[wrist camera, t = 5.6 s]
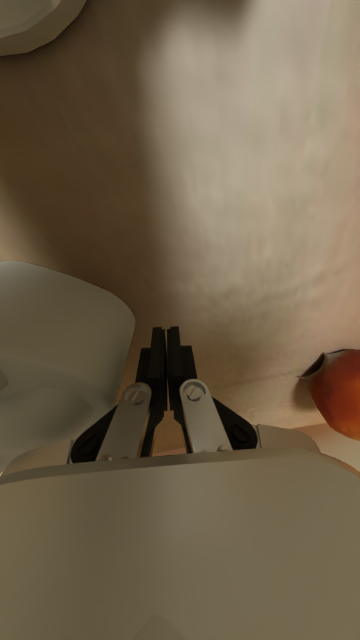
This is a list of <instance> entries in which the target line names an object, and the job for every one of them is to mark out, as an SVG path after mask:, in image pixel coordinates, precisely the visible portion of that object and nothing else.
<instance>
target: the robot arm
mask: <svg viewBox="0 0 360 640" xmlns="http://www.w3.org/2000/svg"><path fill="white" fill-rule="evenodd" d="M86 1H87V0H0V56H4V55H13V54H22V53H28V52H30V51H32V50H34V49H36V48H38V47H40V46H42V45H44V44H46V43H48V42H50V41H52V40H54V39H55V38H56V37H57V36H58V35H59V34H60V33H61V32H62V31H63V30H64V29H65V28H66V27H67V26H68V25H69V24H70V23H71V22H72V21H73V20H74V19H75V18H76V17H77V16H78V14H79V13H80V11H81V9H82V8H83V6H84V4H85V2H86ZM167 377H168V390H169V402H170V410H174V419H175V420H176V421H177V422H178V423H179V424H181V430H182V435H183V440H184V444H185V449H186V454H179V455H167V456H155V457H152V453H153V448H154V442H155V437H156V431H157V425H158V424H159V423H160V422H161V421H162V420H163V417H164V411H167ZM0 640H360V472H359V471H357V470H356V469H355V468H353V467H352V466H350V465H348V464H346V463H344V462H342V461H340V460H338V459H336V458H334V457H331V456H328V455H326V454H323V453H321V452H320V450H319V448H318V446H317V444H316V442H315V441H314V440H313V439H312V438H311V437H310V436H308V435H307V434H305V433H303V432H300V431H297V430H291V429H285V428H279V427H273V426H268V425H262V424H257V426H256V425H251V424H250V423H249V422H247V421H246V420H245V419H243V418H242V417H240V416H239V415H238V414H236V413H235V412H233V411H232V410H230V409H229V408H228V407H226V406H225V405H223V404H222V403H220V402H219V401H218V400H216V399H215V398H213V397H212V396H211V395H210V392H209V390H208V387H207V386H206V384H205V383H203V382H202V381H200V380H197V374H196V369H195V363H194V357H193V352H192V346H180V336H179V326H175V327H170V329H167V351H166V338H165V329H162V328H161V327H155V328H153V332H152V340H151V348H142V349H141V353H140V358H139V364H138V370H137V375H136V381H135V383H134V384H131V385H130V386H128V387H127V388H126V389H125V390H124V392H123V394H122V396H121V398H120V401H119V403H118V405H116V406H115V407H114V408H113V409H112V410H110V411H109V412H108V413H107V414H105V415H104V416H103V417H102V418H101V419H99V420H98V421H97V422H96V423H94V424H93V425H92V426H91V427H89V428H88V429H87V430H86V431H85V432H83V433H82V434H81V435H80V436H79V437H78V438H76V439H72V438H69V439H66V440H63V441H59V442H56V443H53V444H50V445H46V446H43V447H40V448H37V449H34V450H30V451H27V452H25V453H22V454H20V455H19V456H17V457H16V458H15V459H13V460H12V461H11V462H10V463H9V464H8V466H7V467H6V468H5V470H4V471H3V473H2V475H1V477H0Z"/></svg>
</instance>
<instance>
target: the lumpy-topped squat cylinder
mask: <svg viewBox="0 0 360 640" xmlns="http://www.w3.org/2000/svg"><path fill="white" fill-rule="evenodd" d="M134 329H135V318H134V315H133V313H132V311H131V310H130V308H129V307H128V306H127V305H126V304H125V303H124V302H123V301H122V300H121V299H120V298H118V297H117V296H116V295H114V294H112V293H111V292H109V291H107V290H105V289H102V288H100V287H98V286H95V285H93V284H90V283H88V282H86V281H83V280H81V279H78V278H76V277H73V276H70V275H67V274H64V273H61V272H58V271H55V270H52V269H49V268H45V267H42V266H38V265H34V264H30V263H25V262H19V261H2V262H0V473H1V472H3V471H4V470H5V468H6V467H7V466H8V464H9V463H10V462H11V461H12V460H13V459H15V458H16V457H17V456H19V455H20V454H22V453H25V452H27V451H30V450H34V449H37V448H40V447H43V446H46V445H50V444H53V443H56V442H59V441H63V440H66V439H69V438H72V439H76V438H78V437H79V436H80V435H81V434H82V433H83V432H85V431H86V430H87V429H88V428H89V427H91V426H92V425H93V424H94V423H96V422H97V421H98V420H99V419H101V418H102V417H103V416H104V415H105V414H107V413H108V412H109V411H110V410H112V409H113V408H114V406H115V402H116V397H117V393H118V390H119V387H120V383H121V379H122V375H123V371H124V367H125V364H126V359H127V356H128V352H129V348H130V344H131V341H132V337H133V333H134Z"/></svg>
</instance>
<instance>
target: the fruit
mask: <svg viewBox="0 0 360 640" xmlns="http://www.w3.org/2000/svg"><path fill="white" fill-rule="evenodd" d="M296 377H299V378H302V379H305V380H307V381H308V386H309V390H310V392H311V395H312V398H313V400H314V402H315V404H316V406H317V408H318V409H319V411H320V413H321V414H322V416H323V417H324V419H325V420H326V422H327V423H328V424H329V426H330V427H331V428H333V429H334V430H335V431H337V432H339V433H341V434H343V435H345V436H346V437H348V438H351V439H355V440H359V441H360V350H355V349H346V350H344V351H340V352H337V353H331V354H325V353H324V362H323V364H322V366H321V368H320V369H319V370H318V371H316V372H315V373H313V374H311V375H309V376H305V377H300V376H296Z"/></svg>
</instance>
